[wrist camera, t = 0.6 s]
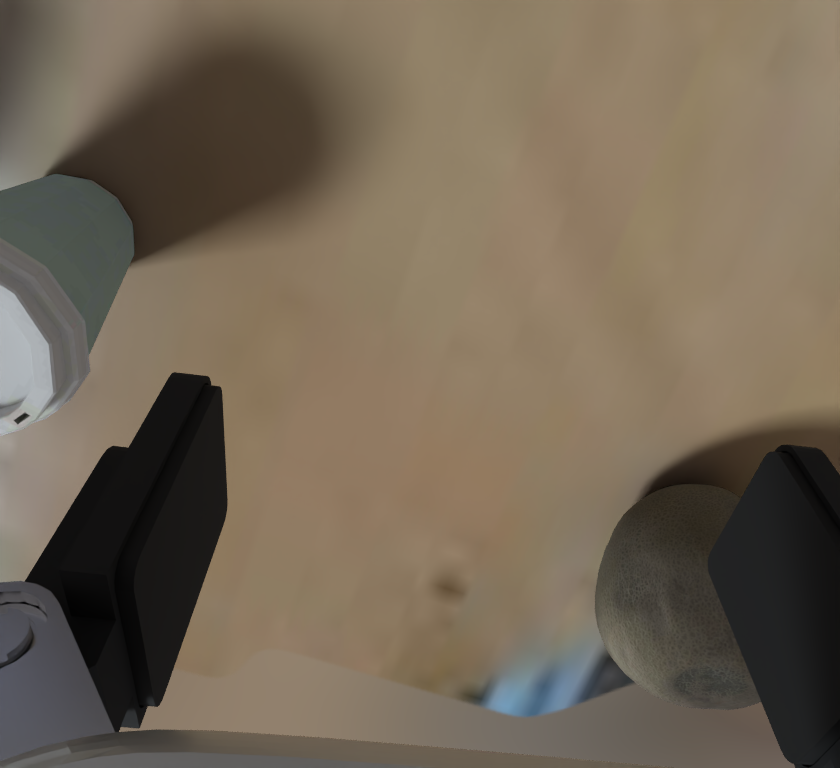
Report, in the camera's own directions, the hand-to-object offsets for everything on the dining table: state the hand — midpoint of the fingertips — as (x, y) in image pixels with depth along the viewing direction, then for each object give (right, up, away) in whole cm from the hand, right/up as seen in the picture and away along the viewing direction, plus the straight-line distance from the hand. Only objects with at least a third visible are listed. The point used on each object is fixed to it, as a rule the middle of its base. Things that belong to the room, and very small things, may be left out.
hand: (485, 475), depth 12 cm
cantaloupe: (+19, -9, +43) cm, 48 cm away
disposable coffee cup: (-21, +12, +29) cm, 38 cm away
